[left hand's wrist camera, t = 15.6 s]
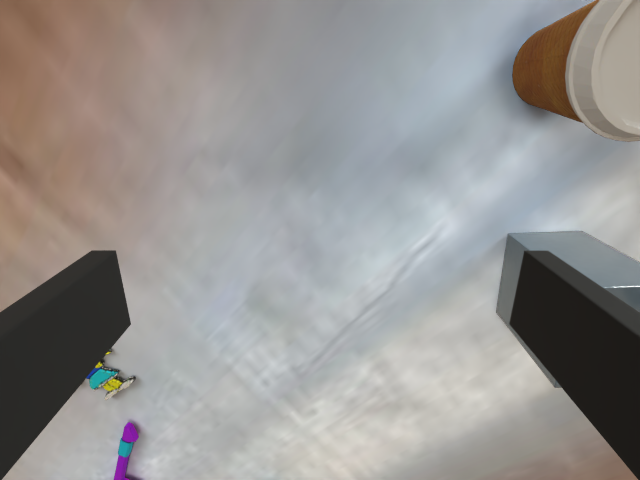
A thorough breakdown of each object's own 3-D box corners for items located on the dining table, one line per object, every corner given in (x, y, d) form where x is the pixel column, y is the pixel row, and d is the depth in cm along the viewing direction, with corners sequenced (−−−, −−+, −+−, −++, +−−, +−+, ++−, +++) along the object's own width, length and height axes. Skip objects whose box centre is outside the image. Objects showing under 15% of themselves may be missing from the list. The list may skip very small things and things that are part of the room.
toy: (80, 420, 46) (-29, 337, 41) (84, 414, 47) (-22, 332, 42) (138, 380, 43) (29, 288, 39) (141, 375, 44) (35, 283, 40)
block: (495, 312, 41) (554, 388, 31) (507, 233, 38) (578, 288, 27) (564, 310, 41) (647, 385, 30) (582, 230, 38) (682, 284, 27)
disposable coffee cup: (480, 33, 31) (569, 1, 20) (600, -20, 30) (768, -86, 18) (506, 143, 34) (594, 168, 23) (615, 100, 33) (765, 105, 22)
